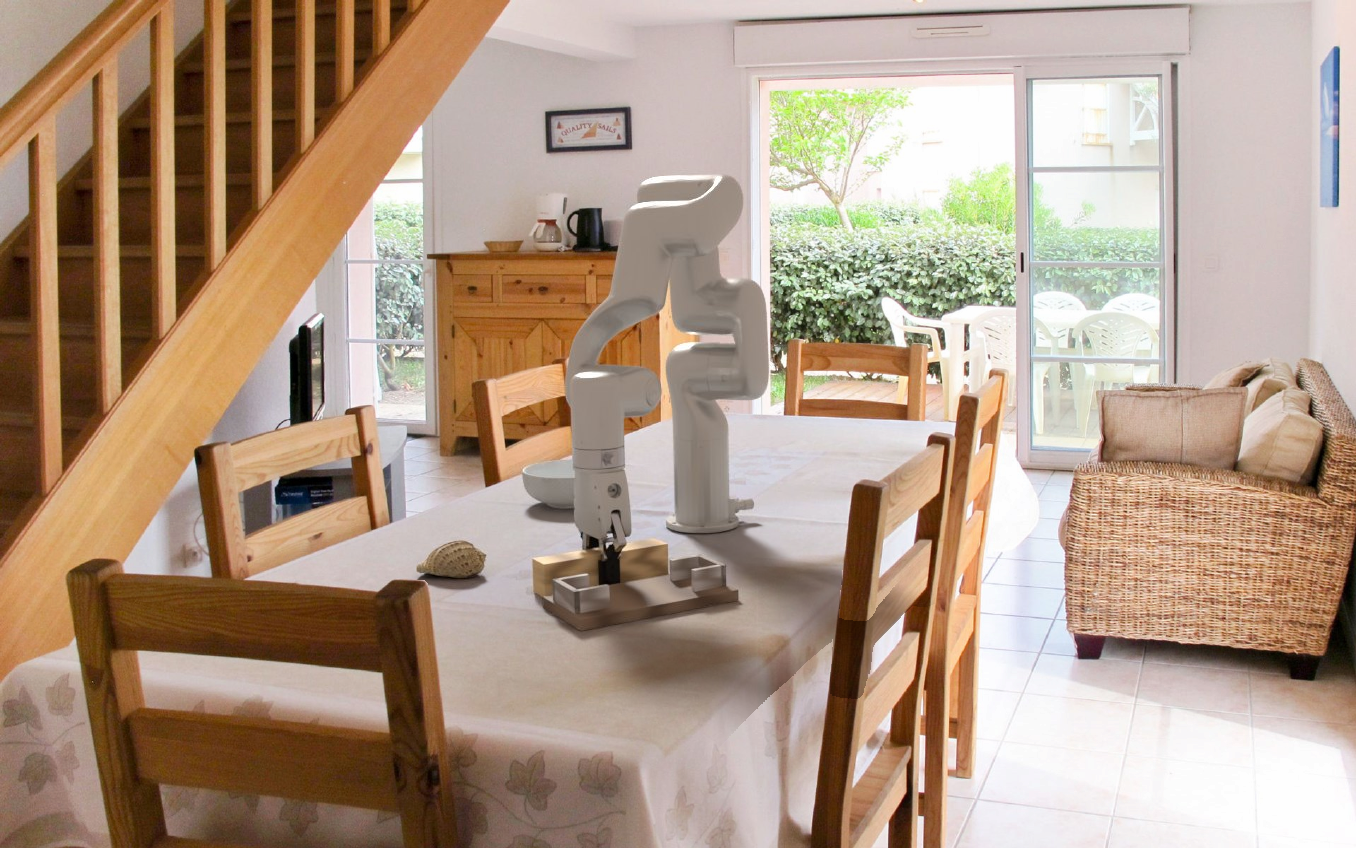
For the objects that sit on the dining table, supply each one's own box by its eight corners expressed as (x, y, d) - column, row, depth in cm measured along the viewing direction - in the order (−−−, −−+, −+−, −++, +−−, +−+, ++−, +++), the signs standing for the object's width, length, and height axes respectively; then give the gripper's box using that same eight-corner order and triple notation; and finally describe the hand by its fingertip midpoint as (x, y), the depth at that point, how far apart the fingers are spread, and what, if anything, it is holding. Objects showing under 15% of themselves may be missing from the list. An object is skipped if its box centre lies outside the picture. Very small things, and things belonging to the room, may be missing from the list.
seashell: (435, 604, 183) (495, 569, 185) (416, 570, 181) (476, 535, 184) (428, 590, 190) (485, 556, 193) (408, 557, 189) (467, 524, 191)
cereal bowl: (504, 506, 233) (503, 469, 232) (568, 491, 246) (566, 455, 245) (569, 518, 222) (567, 479, 221) (631, 502, 235) (630, 465, 234)
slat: (655, 570, 188) (654, 538, 187) (668, 576, 185) (667, 543, 184) (533, 592, 178) (532, 558, 177) (545, 599, 175) (543, 564, 174)
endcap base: (694, 580, 182) (693, 550, 181) (738, 600, 172) (738, 568, 171) (543, 607, 170) (541, 575, 170) (580, 631, 160) (579, 597, 159)
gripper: (649, 464, 173) (652, 591, 176) (596, 447, 188) (600, 565, 190) (601, 470, 169) (604, 600, 172) (550, 452, 184) (555, 573, 187)
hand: (602, 580), depth 181 cm, fingers closed on slat, 4 cm apart
